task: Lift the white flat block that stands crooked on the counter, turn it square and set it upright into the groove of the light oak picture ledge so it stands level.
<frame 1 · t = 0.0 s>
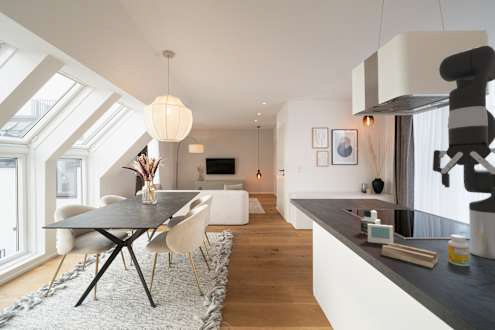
hand: (468, 188, 61), 29 cm above the countertop, tool pointing down, fingers open, 8 cm apart
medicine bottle: (370, 233, 120), on the countertop
picture ledge: (408, 257, 88), on the countertop
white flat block: (380, 242, 106), on the countertop
supplement bottle: (458, 263, 83), on the countertop
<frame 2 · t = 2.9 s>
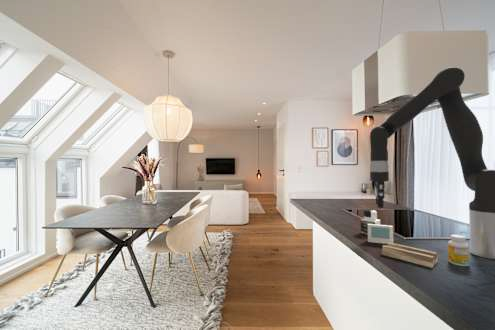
hand: (379, 206, 106), 17 cm above the countertop, tool pointing down, fingers open, 8 cm apart
nothing on the countertop moved.
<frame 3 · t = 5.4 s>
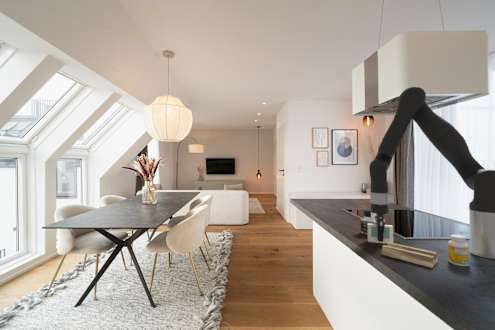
hand: (380, 240, 106), 1 cm above the countertop, tool pointing down, fingers closed on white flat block, 2 cm apart
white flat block: (380, 242, 106), on the countertop, touching gripper
everything else where it was.
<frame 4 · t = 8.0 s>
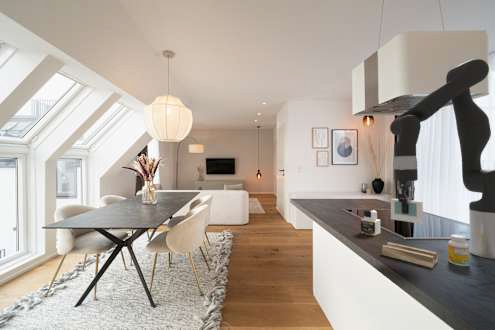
hand: (406, 212, 89), 17 cm above the countertop, tool pointing down, fingers closed on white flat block
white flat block: (406, 220, 89), point 14 cm above the countertop, touching gripper
everything else where it was.
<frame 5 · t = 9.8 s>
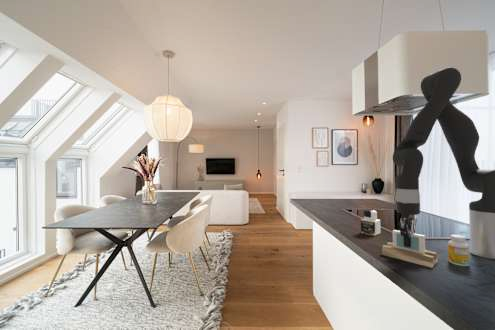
hand: (408, 245, 88), 5 cm above the countertop, tool pointing down, fingers closed on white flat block, 2 cm apart
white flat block: (408, 253, 88), point 1 cm above the countertop, touching gripper, picture ledge
everything else where it was.
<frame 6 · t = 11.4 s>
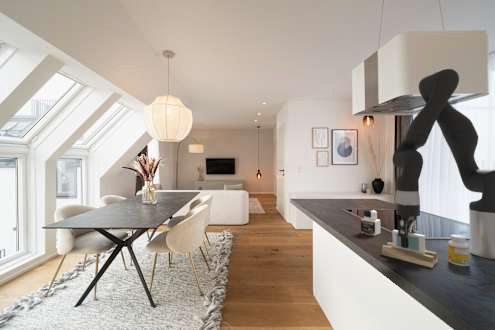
hand: (408, 244, 88), 5 cm above the countertop, tool pointing down, fingers open, 8 cm apart
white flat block: (408, 253, 88), point 1 cm above the countertop, touching picture ledge
everything else where it was.
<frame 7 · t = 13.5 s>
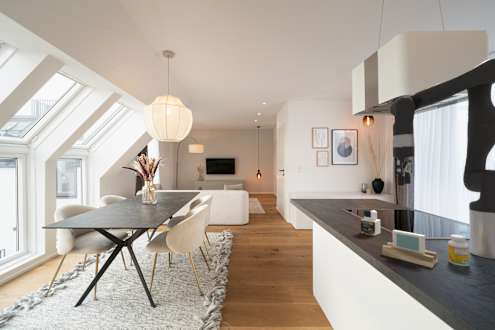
hand: (404, 184, 97), 27 cm above the countertop, tool pointing down, fingers open, 8 cm apart
nothing on the countertop moved.
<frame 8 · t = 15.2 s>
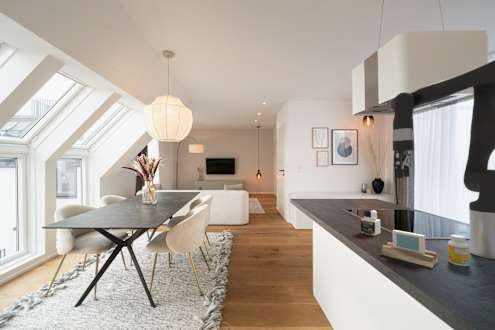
hand: (403, 177, 100), 30 cm above the countertop, tool pointing down, fingers open, 8 cm apart
nothing on the countertop moved.
at the end: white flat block 0.0 cm off-centre on the picture ledge, point 1.5 cm above the picture ledge's base; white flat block tilted 0°; the gripper is holding nothing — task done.
